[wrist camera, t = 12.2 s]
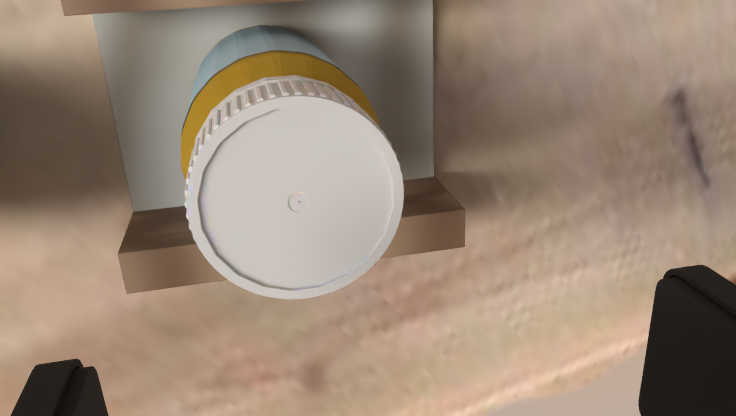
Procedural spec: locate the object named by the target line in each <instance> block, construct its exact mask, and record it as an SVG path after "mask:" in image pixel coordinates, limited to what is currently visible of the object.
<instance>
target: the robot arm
mask: <svg viewBox="0 0 736 416" xmlns="http://www.w3.org/2000/svg"><path fill="white" fill-rule="evenodd" d="M639 411H640V414H641V416H736V285H735V284H733V283H732V282H730V281H729V280H727V279H726V278H724V277H722V276H721V275H719V274H718V273H716V272H715V271H713V270H712V269H710V268H709V267H706V266H704V265H695V266H689V267H682V268H675V269H670V270H669V271H667V272H666V273H665V275H664V277H663V279H661V280H659V282H658V283H657V286H656V291H655V297H654V304H653V310H652V317H651V323H650V330H649V337H648V343H647V350H646V356H645V363H644V369H643V376H642V383H641V389H640V395H639ZM11 416H108V412H107V408H106V405H105V401H104V397H103V393H102V389H101V385H100V382H99V378H98V374H97V371H96V369H95V368H94V367H93V366H90V367H84V368H83V365H82V363H81V361H80V360H78V359H71V360H65V361H58V362H52V363H45V364H39V365H36V366H35V367H34V369H33V370H32V372H31V374H30V376H29V378H28V381H27V383H26V385H25V387H24V389H23V391H22V393H21V395H20V397H19V399H18V401H17V403H16V406H15V408H14V410H13V412H12V414H11Z"/></svg>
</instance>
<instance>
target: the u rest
mask: <svg viewBox="0 0 736 416" xmlns="http://www.w3.org/2000/svg"><path fill="white" fill-rule="evenodd" d="M61 3H62V7H63V12H64V16H71V15H87V14H93V19H94V24H95V29H96V34H97V38H98V43H99V48H100V53H101V58H102V63H103V67H104V72H105V77H106V82H107V87H108V91H109V96H110V101H111V106H112V111H113V116H114V120H115V125H116V130H117V135H118V140H119V145H120V149H121V154H122V159H123V164H124V169H125V174H126V178H127V183H128V188H129V193H130V198H131V203H132V207H133V214H132V217H131V220H130V222H129V225H128V228H127V230H126V233H125V236H124V239H123V241H122V244H121V247H120V249H119V252H118V257H119V262H120V266H121V271H122V275H123V280H124V284H125V289H126V293H127V294H129V293H136V292H144V291H151V290H158V289H165V288H172V287H180V286H187V285H194V284H201V283H208V282H216V281H223V280H228V279H226V278H225V277H224V276H222V275H221V274H220V273H219V272H218V271H217V270H216V269H215V268H214V267H213V266H212V265H211V264H210V263H209V262H208V261H207V259H206V258H205V257H204V255H203V254H202V252H201V251H200V249H199V248H198V245H197V243H196V241H195V240H194V239H193V234H192V231H191V230H190V229H189V220H188V219H187V218H186V211H187V208H186V207H185V198H186V196H185V187H186V181H185V178H184V175H183V172H182V167H181V133H182V127H183V123H184V119H185V115H186V112H187V108H188V104H189V100H190V97H191V93H192V89H193V85H194V82H195V79H196V76H197V73H198V70H199V68H200V65H201V63H202V61H203V60H204V58H205V57H206V56H207V55H208V53H209V52H210V51H211V50H212V48H213V47H214V46H215V45H216V44H217V43H218V42H219V41H220V40H222V39H224V38H225V37H227V36H228V35H230V34H232V33H233V32H235V31H237V30H240V29H244V28H248V27H253V26H257V25H268V26H278V27H284V28H287V29H290V30H292V31H294V32H296V33H299V34H301V35H303V36H305V37H306V38H308V39H309V40H311V41H312V42H313V43H314V44H315V45H316V46H317V47H318V48H319V49H321V50H322V51H323V52H324V53H325V54H326V55H327V56H328V57H329V58H330V59H331V60H332V61H333V62H334V63H335V64H336V65H337V66H338V67H339V68H340V69H342V70H343V71H344V72H345V73H346V74H347V75H348V76H349V77H350V78H351V79H352V80H353V81H354V82H355V83H356V84H357V85H358V86H359V87H360V89H361V90H362V92H363V93H364V94H365V96H366V97H367V99H368V101H369V103H370V105H371V106H372V108H373V110H374V112H375V113H376V116H377V119H378V121H379V127H380V129H381V130H382V131H383V132H384V133H385V135H386V138H387V139H388V140H389V141H390V142H391V144H392V149H393V150H394V151H395V152H396V154H397V157H396V158H397V160H398V161H399V163H400V165H401V167H400V170H401V173H402V174H403V178H402V179H403V185H404V200H403V209H402V214H401V219H400V222H399V225H398V228H397V231H396V233H395V235H394V237H393V239H392V241H391V243H390V245H389V246H388V248H387V249H386V251H385V252H384V254H383V255H382V256H381V257H380V259H381V258H388V257H396V256H403V255H410V254H417V253H424V252H432V251H439V250H446V249H453V248H460V247H465V209H464V208H463V207H462V206H461V205H460V204H459V202H458V201H457V200H456V199H455V198H454V197H453V196H452V195H451V194H450V193H449V192H448V191H447V190H446V189H445V188H444V187H443V186H442V185H441V184H440V183H439V181H438V180H437V179H436V178H435V177H434V121H433V0H61Z"/></svg>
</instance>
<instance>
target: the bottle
mask: <svg viewBox="0 0 736 416" xmlns="http://www.w3.org/2000/svg"><path fill="white" fill-rule="evenodd" d="M396 157H397V154H396V152H395V151H394V150H393V149H392V144H391V142H390V141H389V140H388V139H387V138H386V135H385V133H384V132H383V131H382V130H381V129H380V127H379V121H378V119H377V116H376V113H375V112H374V110H373V108H372V106H371V105H370V103H369V101H368V99H367V97H366V96H365V94H364V93H363V92H362V90H361V89H360V87H359V86H358V85H357V84H356V83H355V82H354V81H353V80H352V79H351V78H350V77H349V76H348V75H347V74H346V73H345V72H344V71H343V70H342V69H340V68H339V67H338V66H337V65H336V64H335V63H334V62H333V61H332V60H331V59H330V58H329V57H328V56H327V55H326V54H325V53H324V52H323V51H322V50H321V49H319V48H318V47H317V46H316V45H315V44H314V43H313V42H312V41H311V40H309V39H308V38H306V37H305V36H303V35H301V34H299V33H296V32H294V31H292V30H290V29H287V28H284V27H278V26H268V25H257V26H253V27H248V28H244V29H240V30H237V31H235V32H233V33H232V34H230V35H228V36H227V37H225V38H224V39H222V40H220V41H219V42H218V43H217V44H216V45H215V46H214V47H213V48H212V50H211V51H210V52H209V53H208V55H207V56H206V57H205V58H204V60H203V61H202V63H201V65H200V68H199V70H198V73H197V76H196V79H195V82H194V85H193V89H192V93H191V97H190V100H189V104H188V108H187V112H186V115H185V119H184V123H183V127H182V133H181V167H182V172H183V175H184V178H185V181H186V187H185V196H186V198H185V207H186V208H187V211H186V218H187V219H188V220H189V229H190V230H191V231H192V234H193V239H194V240H195V241H196V243H197V245H198V248H199V249H200V251H201V252H202V254H203V255H204V257H205V258H206V259H207V261H208V262H209V263H210V264H211V265H212V266H213V267H214V268H215V269H216V270H217V271H218V272H219V273H220V274H221V275H222V276H224V277H225V278H226V279H228V280H229V281H231V282H232V283H234V284H235V285H237V286H239V287H241V288H243V289H245V290H248V291H250V292H253V293H256V294H259V295H262V296H267V297H272V298H279V299H303V298H311V297H316V296H320V295H324V294H327V293H330V292H333V291H335V290H338V289H340V288H342V287H344V286H346V285H348V284H350V283H351V282H353V281H355V280H356V279H358V278H359V277H360V276H362V275H363V274H364V273H365V272H367V271H368V270H369V269H370V268H371V267H372V266H373V265H374V264H375V263H376V262H377V261H378V260H379V259H380V257H381V256H382V255H383V254H384V252H385V251H386V249H387V248H388V246H389V245H390V243H391V241H392V239H393V237H394V235H395V233H396V231H397V228H398V225H399V222H400V219H401V214H402V209H403V200H404V185H403V179H402V178H403V174H402V173H401V170H400V167H401V165H400V163H399V161H398V160H397V158H396Z"/></svg>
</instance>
